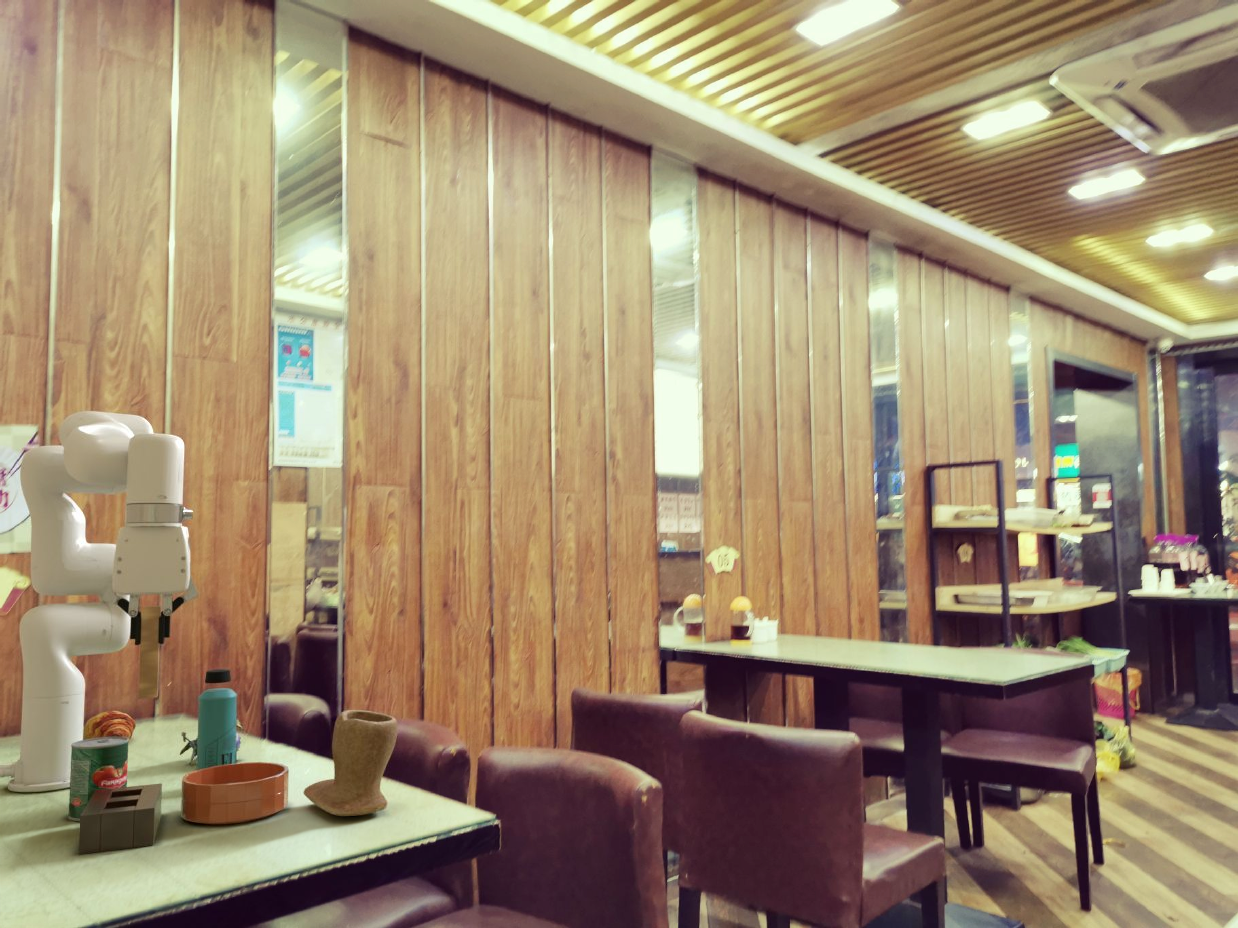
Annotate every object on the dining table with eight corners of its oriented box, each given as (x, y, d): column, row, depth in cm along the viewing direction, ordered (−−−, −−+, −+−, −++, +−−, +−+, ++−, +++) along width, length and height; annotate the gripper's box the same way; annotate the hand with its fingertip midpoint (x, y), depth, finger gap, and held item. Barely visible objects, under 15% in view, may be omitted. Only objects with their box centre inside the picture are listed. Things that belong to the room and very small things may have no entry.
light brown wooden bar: (138, 698, 132) (141, 607, 134) (139, 696, 134) (142, 606, 136) (156, 697, 133) (160, 606, 135) (157, 695, 135) (160, 605, 137)
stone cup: (407, 813, 141) (408, 712, 142) (329, 826, 134) (331, 721, 136) (374, 793, 154) (375, 701, 155) (301, 804, 147) (303, 708, 148)
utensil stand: (78, 854, 124) (79, 815, 124) (93, 824, 138) (95, 789, 138) (153, 845, 127) (154, 807, 128) (160, 816, 141) (162, 783, 142)
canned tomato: (115, 819, 140) (118, 745, 141) (59, 822, 139) (62, 747, 140) (133, 805, 148) (136, 735, 149) (80, 808, 147) (83, 737, 148)
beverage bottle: (221, 792, 155) (224, 671, 157) (186, 791, 157) (189, 671, 159) (244, 783, 162) (246, 667, 164) (210, 782, 163) (213, 667, 165)
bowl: (178, 832, 133) (179, 789, 134) (183, 806, 147) (184, 767, 147) (290, 819, 139) (291, 778, 139) (284, 795, 153) (285, 758, 153)
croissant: (82, 751, 208) (64, 721, 206) (127, 725, 214) (110, 695, 212) (105, 764, 192) (86, 732, 190) (152, 735, 198) (134, 703, 196)
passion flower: (232, 789, 179) (247, 743, 175) (171, 785, 174) (185, 738, 170) (234, 747, 189) (249, 702, 184) (177, 742, 184) (190, 696, 180)
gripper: (213, 518, 143) (210, 639, 141) (95, 518, 137) (90, 644, 135) (213, 516, 136) (210, 643, 134) (88, 516, 130) (83, 649, 128)
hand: (149, 642), depth 135 cm, fingers closed on light brown wooden bar, 2 cm apart
